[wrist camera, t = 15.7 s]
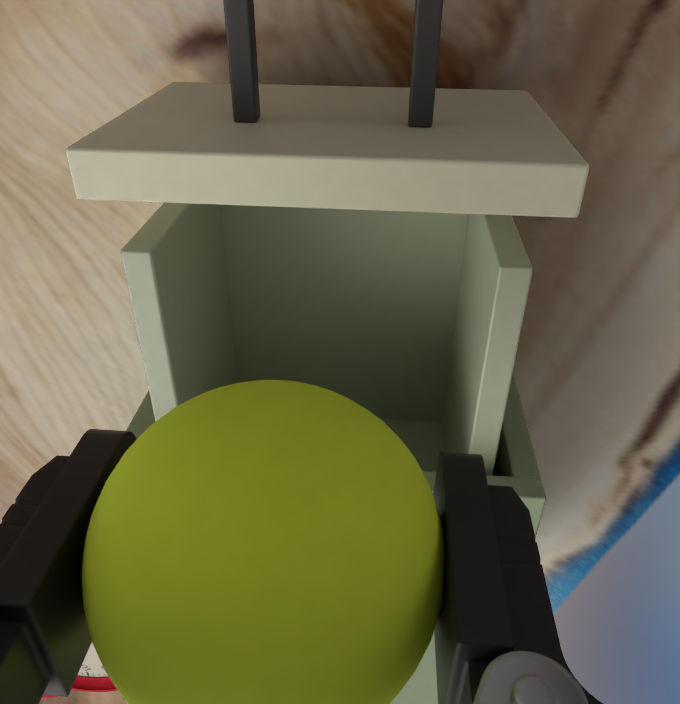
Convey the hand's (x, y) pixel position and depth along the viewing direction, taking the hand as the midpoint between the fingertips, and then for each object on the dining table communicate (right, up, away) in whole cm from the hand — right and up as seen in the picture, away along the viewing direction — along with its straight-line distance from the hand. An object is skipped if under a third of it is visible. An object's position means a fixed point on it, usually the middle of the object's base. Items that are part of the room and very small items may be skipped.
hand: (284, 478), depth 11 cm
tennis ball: (0, -1, -1) cm, 2 cm away
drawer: (+1, +7, +11) cm, 13 cm away
